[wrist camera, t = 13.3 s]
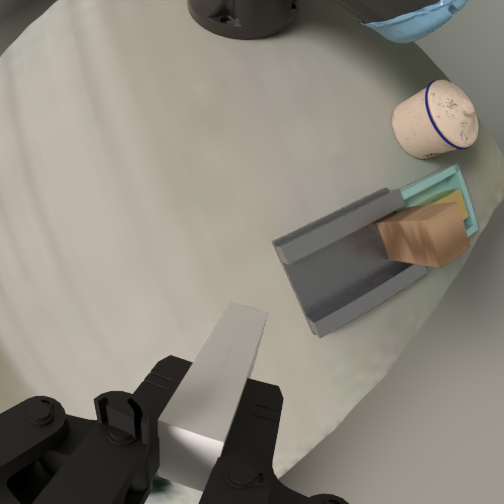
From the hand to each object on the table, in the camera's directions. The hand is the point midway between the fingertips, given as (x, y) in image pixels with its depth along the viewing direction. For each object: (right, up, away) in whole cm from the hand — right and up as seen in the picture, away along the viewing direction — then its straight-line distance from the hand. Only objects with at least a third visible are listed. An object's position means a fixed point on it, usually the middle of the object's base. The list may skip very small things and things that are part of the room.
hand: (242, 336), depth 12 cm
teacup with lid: (+24, +21, +25) cm, 41 cm away
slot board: (+12, +3, +24) cm, 27 cm away
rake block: (+19, +6, +24) cm, 31 cm away
